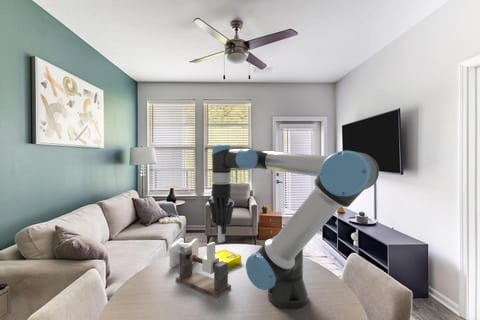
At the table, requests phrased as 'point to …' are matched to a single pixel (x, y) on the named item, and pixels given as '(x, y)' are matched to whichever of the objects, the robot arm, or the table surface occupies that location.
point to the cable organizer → (176, 250)
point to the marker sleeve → (210, 259)
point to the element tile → (229, 258)
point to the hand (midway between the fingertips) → (221, 241)
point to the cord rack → (200, 281)
